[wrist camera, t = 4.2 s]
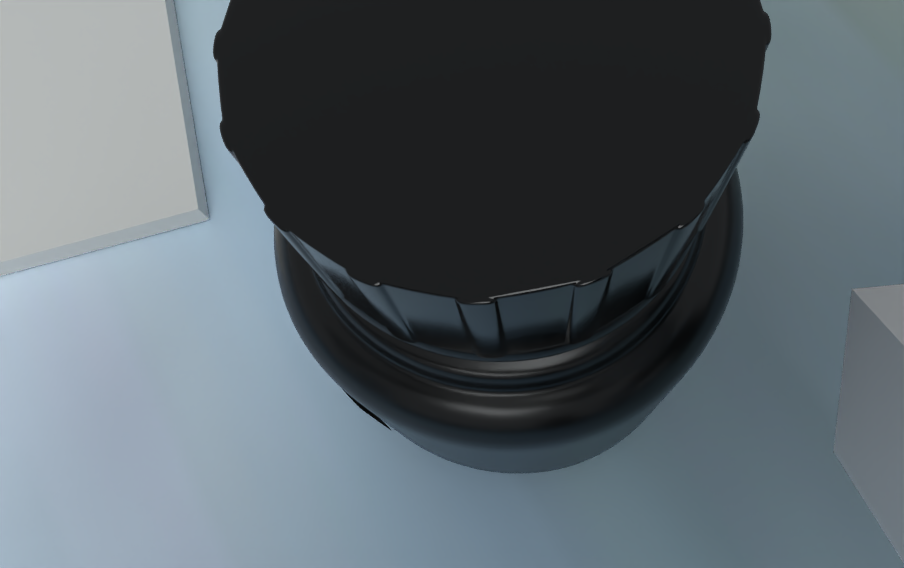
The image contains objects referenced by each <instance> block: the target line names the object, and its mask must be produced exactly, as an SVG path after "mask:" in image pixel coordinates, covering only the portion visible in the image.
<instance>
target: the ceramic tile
mask: <svg viewBox="0 0 904 568" xmlns="http://www.w3.org/2000/svg"><path fill="white" fill-rule="evenodd" d="M207 220H210V219H209V213H208V207H207V201H206V195H205V189H204V183H203V177H202V171H201V165H200V158H199V152H198V146H197V140H196V134H195V128H194V122H193V116H192V110H191V103H190V97H189V91H188V85H187V79H186V73H185V67H184V61H183V55H182V49H181V42H180V36H179V30H178V24H177V18H176V12H175V6H174V0H0V276H3V275H7V274H10V273H14V272H18V271H22V270H25V269H29V268H33V267H36V266H40V265H44V264H48V263H51V262H55V261H59V260H62V259H66V258H70V257H74V256H77V255H81V254H85V253H88V252H92V251H96V250H100V249H103V248H107V247H111V246H114V245H118V244H122V243H126V242H129V241H133V240H137V239H140V238H144V237H148V236H152V235H155V234H159V233H163V232H166V231H170V230H174V229H178V228H181V227H185V226H189V225H192V224H196V223H200V222H204V221H207Z"/></svg>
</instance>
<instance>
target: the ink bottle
mask: <svg viewBox="0 0 904 568" xmlns="http://www.w3.org/2000/svg"><path fill="white" fill-rule="evenodd" d="M770 41H771V23H770V19H769V16H768V14H767V13H766V12H764V11H763V9H762V5H761V2H760V0H230V3H229V6H228V9H227V12H226V15H225V18H224V21H223V24H222V27H221V29H220V30H219V31H218V32H217V33H216V36H215V39H214V46H213V56H214V59H215V60H216V62H217V66H218V82H219V93H220V103H221V112H222V121H221V123H220V132H221V136H222V139H223V142H224V144H225V146H226V148H227V149H228V151H229V152H230V153H231V154H232V156H233V157H234V158H235V159H236V161H237V162H238V163H239V164H240V166H241V167H242V169H243V171H244V173H245V174H246V176H247V178H248V179H249V181H250V183H251V184H252V186H253V188H254V189H255V191H256V192H257V194H258V196H259V197H260V199H261V200H262V202H263V203H264V205H265V206H264V211H265V213H266V215H267V217H268V218H269V219H270V220H271V221H272V223H273V224H274V250H275V261H276V269H277V275H278V279H279V284H280V288H281V292H282V295H283V299H284V301H285V304H286V307H287V310H288V312H289V315H290V317H291V319H292V322H293V324H294V326H295V328H296V330H297V332H298V333H299V335H300V337H301V339H302V340H303V342H304V344H305V345H306V347H307V348H308V350H309V351H310V353H311V354H312V355H313V357H314V358H315V359H316V361H317V362H318V363H319V364H320V366H321V367H322V368H323V369H324V370H325V371H326V373H327V374H328V375H329V376H330V377H331V378H332V379H333V380H334V381H335V382H336V383H337V384H338V385H339V386H340V387H341V388H342V389H343V390H344V391H345V392H346V394H347V395H348V396H349V397H350V398H351V399H352V400H353V401H354V402H355V403H356V404H357V405H358V406H359V407H360V408H361V409H362V410H363V411H365V412H366V413H367V414H369V415H370V416H372V417H373V418H374V419H376V420H377V421H379V422H380V423H381V424H383V425H384V426H386V427H387V428H389V427H388V426H387V425H386V424H385V423H384V422H386V423H387V424H388V425H390V426H391V427H392V428H394V429H395V430H396V431H398V432H399V433H400V434H402V435H403V436H404V437H406V438H407V439H409V440H410V441H412V442H413V443H415V444H416V445H418V446H420V447H421V448H423V449H425V450H427V451H429V452H431V453H433V454H435V455H437V456H439V457H441V458H444V459H446V460H449V461H451V462H454V463H457V464H460V465H463V466H467V467H471V468H475V469H480V470H485V471H491V472H500V473H536V472H545V471H551V470H556V469H560V468H565V467H568V466H572V465H575V464H578V463H581V462H583V461H586V460H588V459H590V458H593V457H595V456H597V455H599V454H601V453H602V452H604V451H606V450H608V449H609V448H611V447H613V446H614V445H616V444H617V443H618V442H620V441H621V440H623V439H624V438H625V437H626V436H628V435H629V434H630V433H631V432H632V431H633V430H635V429H636V428H637V427H638V426H639V425H640V424H641V423H642V422H643V421H644V420H645V419H646V418H647V416H648V415H649V414H650V413H651V412H652V411H653V410H654V409H655V408H656V407H657V405H658V404H659V403H660V402H661V401H662V400H663V399H664V398H665V397H666V395H667V394H668V393H669V392H670V391H671V390H672V389H673V388H674V387H675V386H676V384H677V383H678V382H679V381H680V380H681V379H682V378H683V377H684V375H685V374H686V373H687V372H688V371H689V369H690V368H691V367H692V366H693V364H694V363H695V362H696V360H697V359H698V357H699V356H700V355H701V353H702V352H703V350H704V349H705V347H706V346H707V344H708V342H709V341H710V339H711V337H712V336H713V334H714V332H715V330H716V328H717V326H718V324H719V322H720V320H721V318H722V316H723V314H724V311H725V309H726V306H727V304H728V301H729V298H730V296H731V293H732V290H733V286H734V283H735V279H736V275H737V271H738V267H739V261H740V256H741V248H742V238H743V204H742V194H741V187H740V181H739V176H738V172H737V168H736V167H737V165H738V163H739V161H740V159H741V157H742V156H743V154H744V152H745V150H746V148H747V146H748V144H749V142H750V141H751V139H752V137H753V135H754V133H755V130H756V128H757V125H758V122H759V118H760V113H759V111H758V110H757V105H758V100H759V95H760V89H761V83H762V76H763V69H764V61H765V52H766V50H767V48H768V45H769V43H770ZM381 419H382V420H383V421H384V422H383V421H382V420H381ZM389 429H390V428H389ZM390 430H391V429H390ZM391 431H392V430H391Z"/></svg>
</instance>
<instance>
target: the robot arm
mask: <svg viewBox="0 0 904 568" xmlns="http://www.w3.org/2000/svg"><path fill="white" fill-rule="evenodd" d="M833 452H834V453H835V455H836V457H837V458H838V460H839V461H840V463H841V465H842V466H843V468H844V469H845V471H846V473H847V474H848V476H849V477H850V479H851V480H852V482H853V484H854V485H855V487H856V488H857V490H858V492H859V493H860V495H861V496H862V498H863V500H864V501H865V503H866V504H867V506H868V507H869V509H870V511H871V512H872V514H873V515H874V517H875V519H876V520H877V522H878V523H879V525H880V527H881V528H882V530H883V531H884V533H885V535H886V536H887V538H888V539H889V541H890V542H891V544H892V546H893V547H894V549H895V550H896V552H897V554H898V555H899V557H900V558H901V560H902V562H903V563H904V284H899V285H888V286H878V287H867V288H857V289H852V292H851V301H850V310H849V318H848V327H847V336H846V344H845V353H844V362H843V371H842V379H841V388H840V397H839V405H838V414H837V423H836V431H835V440H834V449H833Z"/></svg>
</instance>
